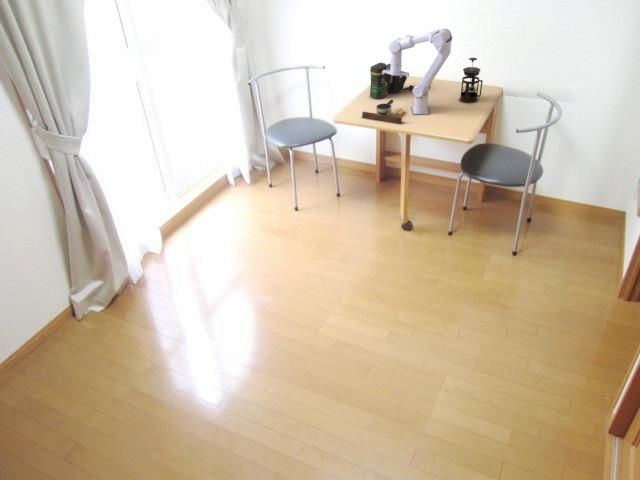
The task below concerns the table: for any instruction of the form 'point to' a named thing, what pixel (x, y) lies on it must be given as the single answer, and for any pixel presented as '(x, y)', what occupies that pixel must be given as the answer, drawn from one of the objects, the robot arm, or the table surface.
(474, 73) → the french press
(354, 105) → the table surface
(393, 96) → the table surface
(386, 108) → the steel pot
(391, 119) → the walnut rail
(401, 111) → the knife
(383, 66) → the coffee jar
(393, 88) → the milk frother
